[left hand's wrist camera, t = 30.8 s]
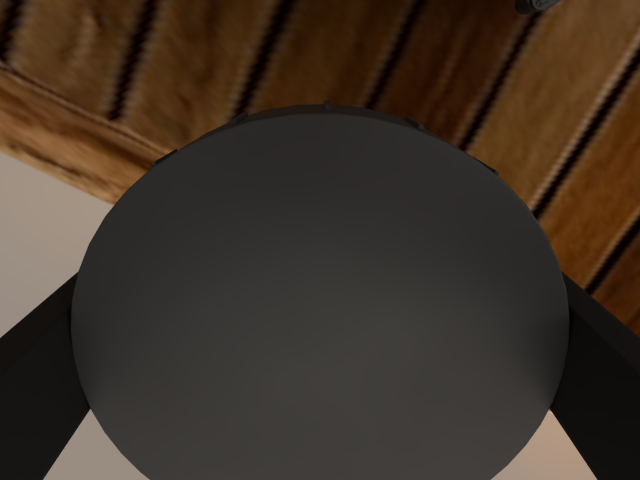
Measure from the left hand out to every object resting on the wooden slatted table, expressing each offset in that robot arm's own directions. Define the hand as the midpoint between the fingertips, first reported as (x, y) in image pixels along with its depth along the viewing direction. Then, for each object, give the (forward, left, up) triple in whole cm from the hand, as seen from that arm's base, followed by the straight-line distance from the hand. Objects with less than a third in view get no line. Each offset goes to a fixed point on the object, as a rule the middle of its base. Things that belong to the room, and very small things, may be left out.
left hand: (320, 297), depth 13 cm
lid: (0, 0, +3) cm, 3 cm away
